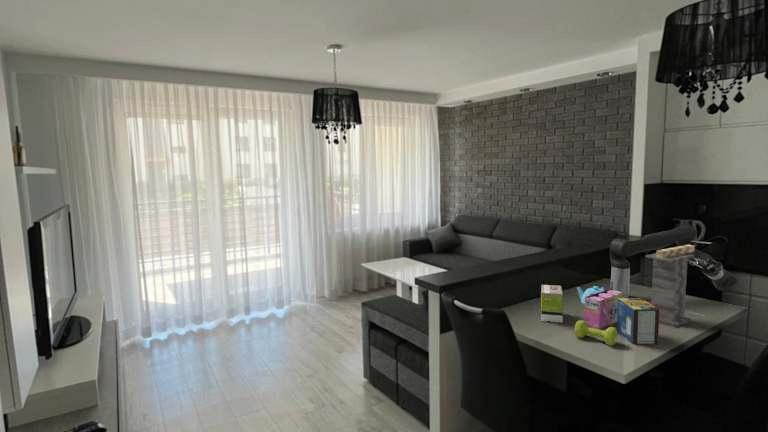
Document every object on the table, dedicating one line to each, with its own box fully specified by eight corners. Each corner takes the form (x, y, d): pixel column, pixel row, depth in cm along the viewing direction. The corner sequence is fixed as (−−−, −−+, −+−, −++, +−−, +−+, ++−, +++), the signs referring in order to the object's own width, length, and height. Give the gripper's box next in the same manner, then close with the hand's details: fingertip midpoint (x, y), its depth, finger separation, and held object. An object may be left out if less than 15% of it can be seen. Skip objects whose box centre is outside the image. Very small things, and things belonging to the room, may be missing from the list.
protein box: (640, 331, 193) (641, 297, 192) (658, 345, 178) (660, 309, 176) (616, 330, 194) (617, 297, 193) (632, 344, 179) (633, 308, 177)
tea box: (540, 311, 222) (541, 283, 220) (561, 313, 219) (562, 285, 217) (540, 321, 208) (541, 291, 206) (563, 323, 205) (563, 293, 203)
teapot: (575, 301, 237) (575, 282, 236) (603, 301, 236) (603, 282, 235) (585, 310, 222) (586, 290, 221) (615, 310, 221) (616, 290, 219)
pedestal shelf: (670, 328, 195) (674, 260, 192) (640, 319, 207) (643, 255, 204) (692, 321, 203) (696, 255, 200) (661, 312, 216) (664, 250, 212)
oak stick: (662, 257, 197) (663, 251, 196) (656, 256, 199) (656, 250, 199) (694, 251, 209) (694, 245, 209) (687, 250, 212) (688, 244, 212)
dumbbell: (572, 338, 187) (572, 322, 186) (579, 333, 193) (579, 317, 192) (613, 348, 176) (613, 332, 175) (619, 342, 181) (619, 326, 180)
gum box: (609, 314, 216) (610, 288, 215) (625, 318, 210) (627, 291, 208) (583, 324, 203) (584, 296, 201) (599, 329, 196) (600, 300, 195)
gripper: (699, 261, 229) (685, 249, 221) (730, 266, 216) (717, 253, 209) (694, 273, 228) (680, 262, 220) (725, 279, 215) (712, 267, 208)
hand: (698, 258), depth 214 cm, fingers open, 8 cm apart
